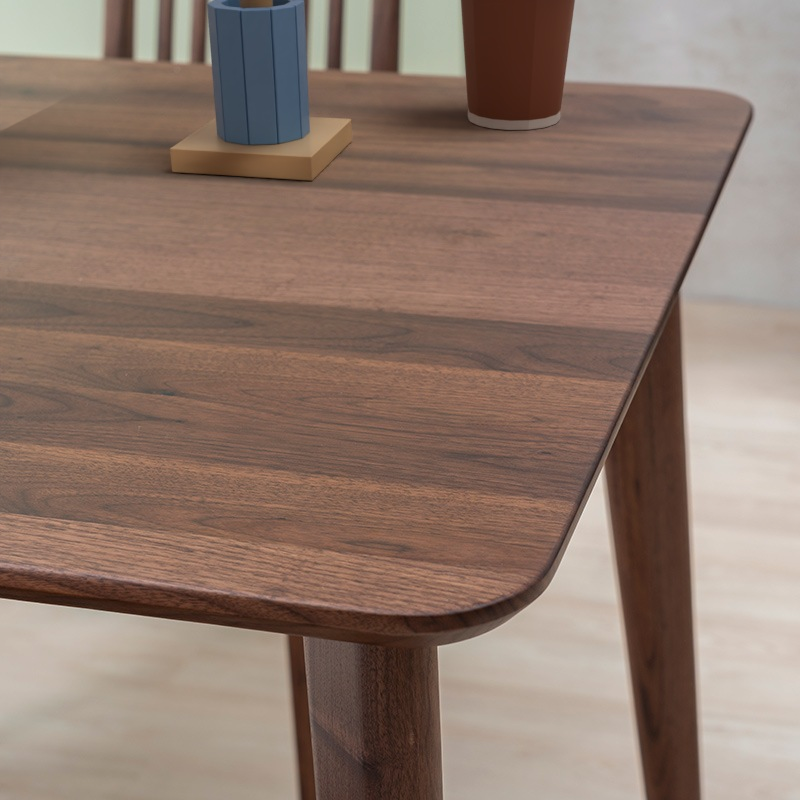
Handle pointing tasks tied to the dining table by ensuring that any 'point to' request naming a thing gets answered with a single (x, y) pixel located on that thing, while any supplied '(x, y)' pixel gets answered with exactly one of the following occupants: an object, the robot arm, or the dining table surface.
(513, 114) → the coffee cup
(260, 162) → the tape stand
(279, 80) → the blue faceted pencil cup
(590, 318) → the dining table surface
